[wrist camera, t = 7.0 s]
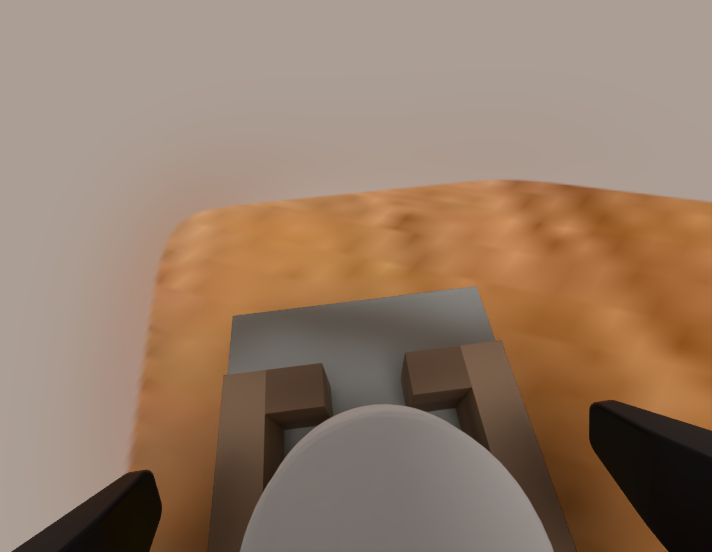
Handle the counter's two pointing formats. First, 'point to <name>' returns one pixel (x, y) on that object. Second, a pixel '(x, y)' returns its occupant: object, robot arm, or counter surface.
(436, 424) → the supplement bottle
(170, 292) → the counter surface
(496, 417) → the pocket
